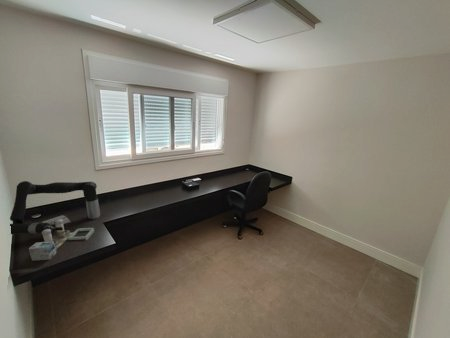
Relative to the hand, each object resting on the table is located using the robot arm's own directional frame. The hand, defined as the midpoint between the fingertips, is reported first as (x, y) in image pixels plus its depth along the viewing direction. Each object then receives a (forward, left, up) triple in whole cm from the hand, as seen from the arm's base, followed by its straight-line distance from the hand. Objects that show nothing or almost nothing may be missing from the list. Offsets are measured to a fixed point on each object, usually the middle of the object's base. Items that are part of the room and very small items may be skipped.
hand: (64, 226), depth 149 cm
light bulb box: (+23, 0, -9) cm, 25 cm away
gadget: (-21, -19, -10) cm, 30 cm away
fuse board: (+7, -3, -9) cm, 12 cm away
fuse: (+13, -3, -8) cm, 15 cm away
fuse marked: (0, -3, -7) cm, 8 cm away
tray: (0, +11, -9) cm, 14 cm away
